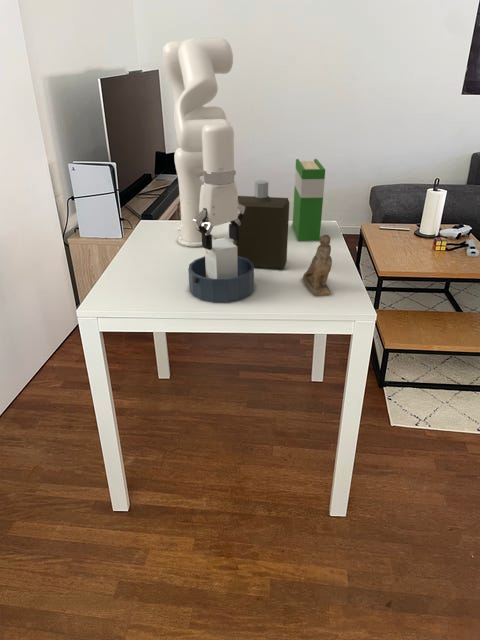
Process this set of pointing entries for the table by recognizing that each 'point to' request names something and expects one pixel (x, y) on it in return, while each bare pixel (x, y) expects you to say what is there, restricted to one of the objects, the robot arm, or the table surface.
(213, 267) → the small box
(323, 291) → the brown carved statuette
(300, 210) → the hardback book
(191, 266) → the blue-grey ring
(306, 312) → the table surface
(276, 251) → the bottle
